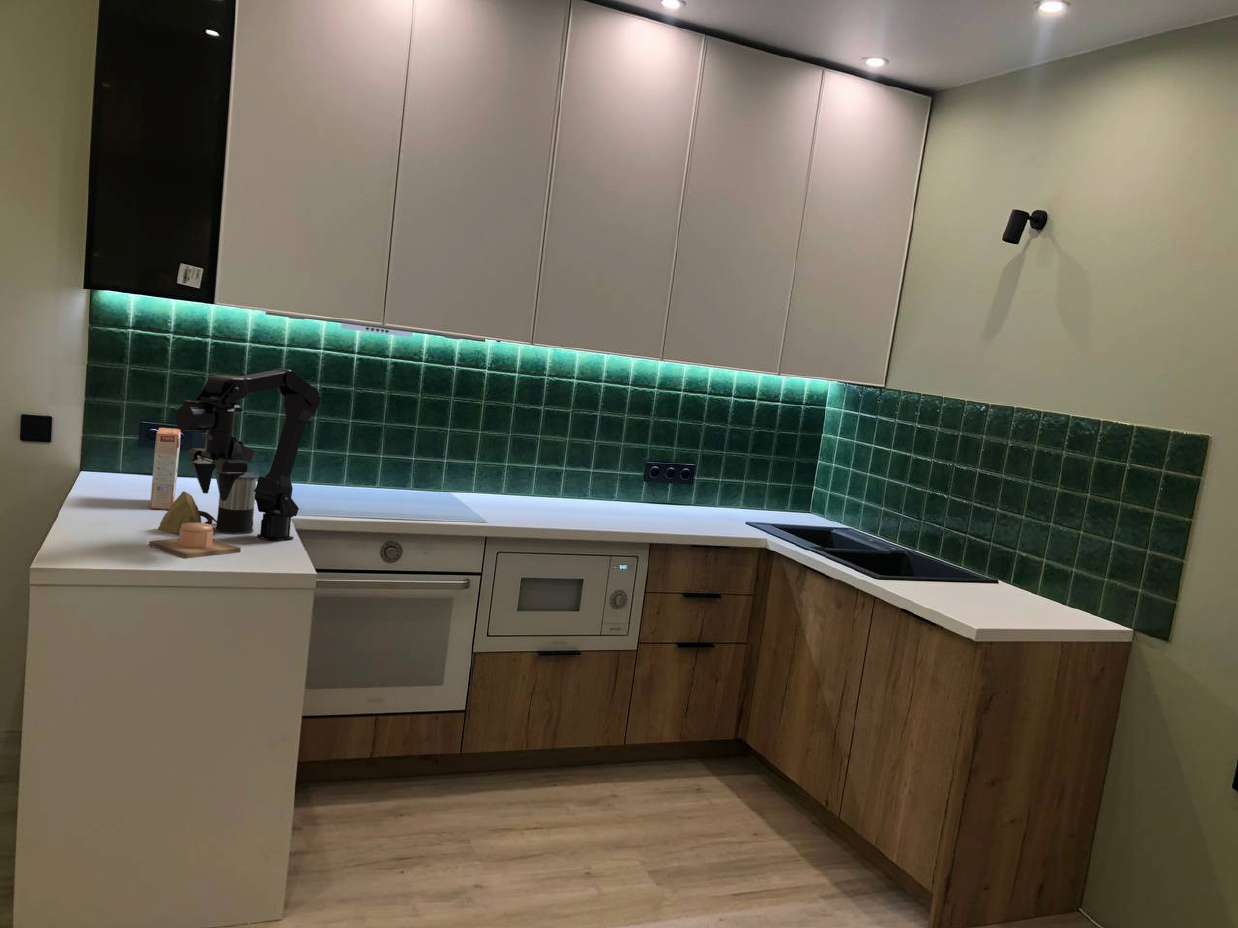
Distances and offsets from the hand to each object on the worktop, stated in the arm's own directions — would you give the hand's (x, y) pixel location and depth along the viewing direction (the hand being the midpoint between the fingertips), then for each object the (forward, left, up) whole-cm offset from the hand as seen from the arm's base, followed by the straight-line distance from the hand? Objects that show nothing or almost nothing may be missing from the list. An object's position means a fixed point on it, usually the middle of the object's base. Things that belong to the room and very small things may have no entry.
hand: (214, 496), depth 231 cm
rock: (-3, -16, -12) cm, 20 cm away
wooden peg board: (+4, 0, -12) cm, 13 cm away
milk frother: (-14, -17, -12) cm, 25 cm away
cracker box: (-19, -48, -12) cm, 53 cm away
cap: (+4, 0, -11) cm, 12 cm away
